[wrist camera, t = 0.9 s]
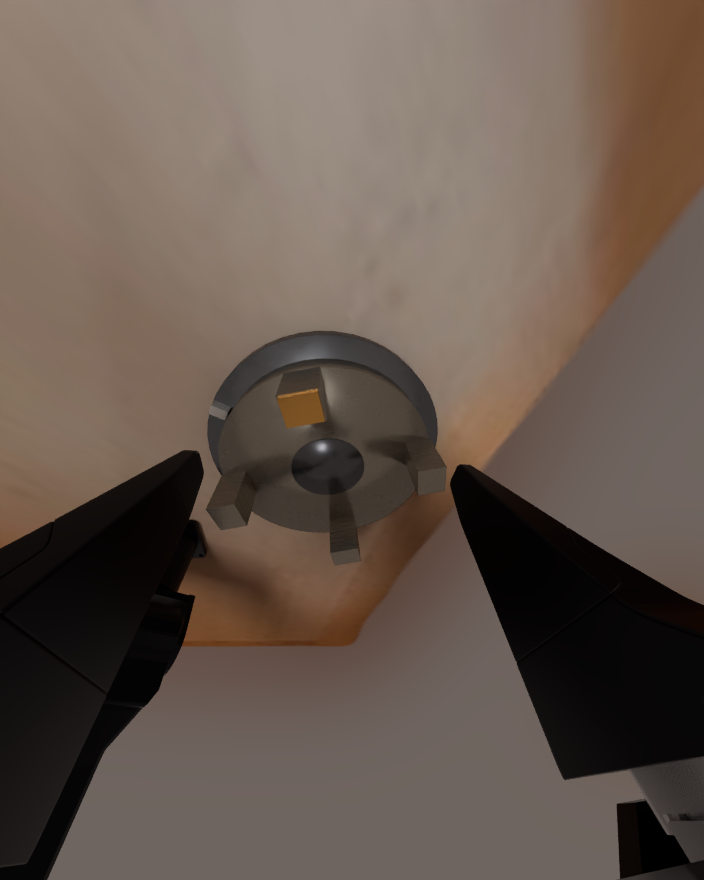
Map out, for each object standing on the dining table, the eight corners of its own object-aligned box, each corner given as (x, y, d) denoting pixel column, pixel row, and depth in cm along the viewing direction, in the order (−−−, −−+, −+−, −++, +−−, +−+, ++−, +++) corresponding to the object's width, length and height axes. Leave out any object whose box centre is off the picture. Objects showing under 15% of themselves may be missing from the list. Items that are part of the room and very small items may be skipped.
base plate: (405, 514, 32) (410, 529, 30) (231, 514, 29) (225, 531, 27) (462, 343, 20) (476, 351, 19) (188, 317, 18) (173, 323, 16)
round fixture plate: (421, 501, 28) (441, 550, 23) (266, 528, 28) (255, 582, 23) (421, 338, 18) (456, 365, 14) (186, 381, 19) (138, 423, 14)
